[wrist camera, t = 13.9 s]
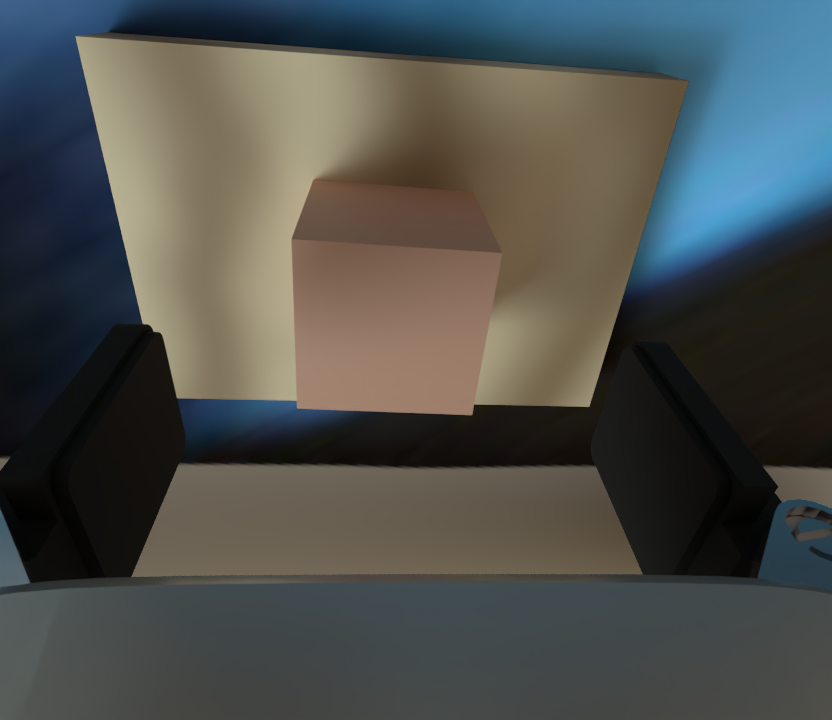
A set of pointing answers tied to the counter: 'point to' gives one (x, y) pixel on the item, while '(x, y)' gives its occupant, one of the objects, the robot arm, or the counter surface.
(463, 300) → the terracotta cube
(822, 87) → the counter surface
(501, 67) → the chopping board
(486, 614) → the robot arm
